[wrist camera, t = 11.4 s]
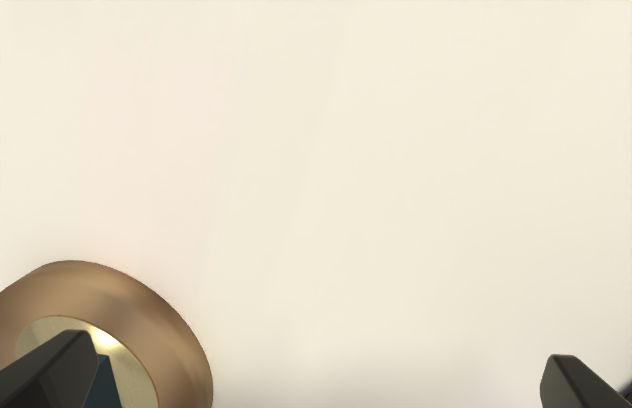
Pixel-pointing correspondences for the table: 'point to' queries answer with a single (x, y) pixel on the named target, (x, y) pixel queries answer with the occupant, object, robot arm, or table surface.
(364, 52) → the table surface
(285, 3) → the table surface
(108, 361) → the watch
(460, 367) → the table surface
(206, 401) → the round dish
